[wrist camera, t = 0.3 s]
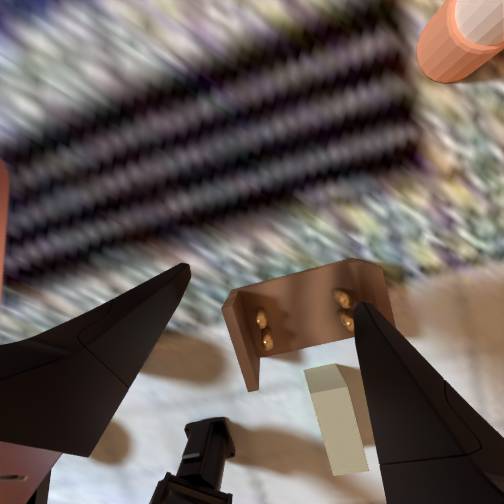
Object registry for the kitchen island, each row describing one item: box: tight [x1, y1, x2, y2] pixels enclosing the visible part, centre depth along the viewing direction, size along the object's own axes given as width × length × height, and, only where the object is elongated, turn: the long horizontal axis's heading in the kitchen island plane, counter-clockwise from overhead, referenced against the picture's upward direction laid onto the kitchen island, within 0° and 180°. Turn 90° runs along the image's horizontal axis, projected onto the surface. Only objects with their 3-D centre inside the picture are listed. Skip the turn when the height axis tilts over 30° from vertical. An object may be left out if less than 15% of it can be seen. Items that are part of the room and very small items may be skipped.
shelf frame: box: [221, 258, 396, 392], centre depth 21 cm, size 16×10×6 cm, turn 106°
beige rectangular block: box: [304, 364, 369, 476], centre depth 24 cm, size 12×4×4 cm, turn 16°
